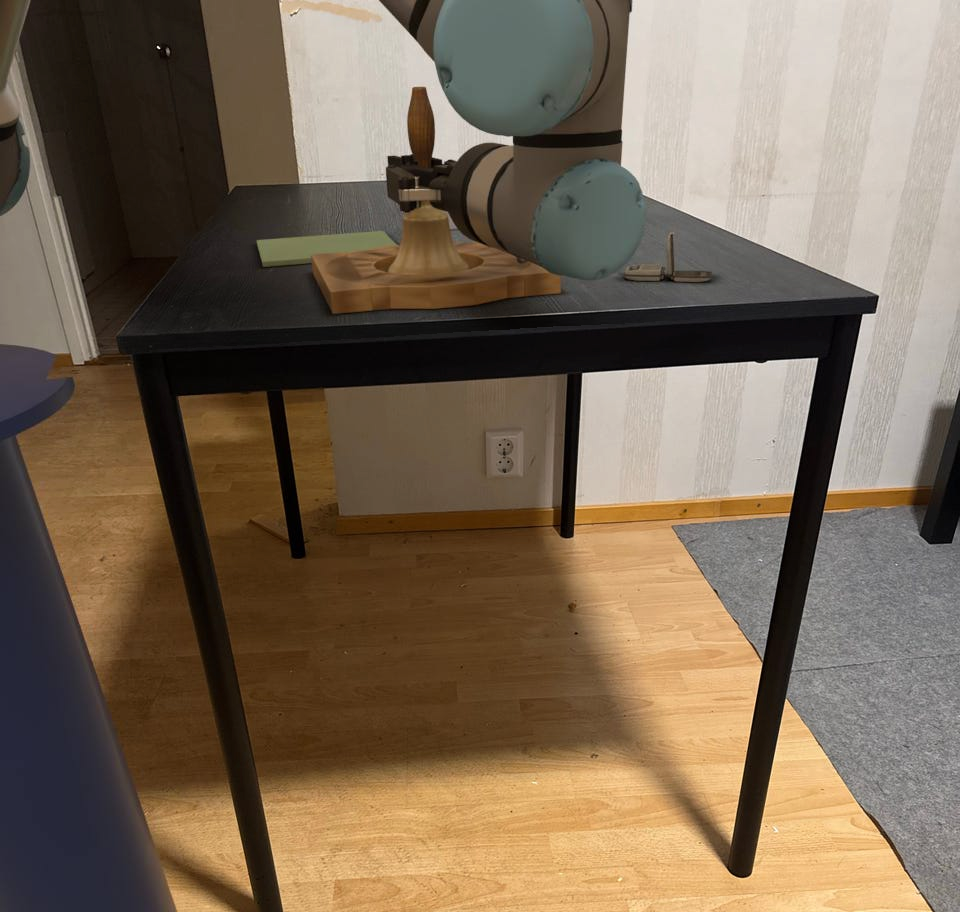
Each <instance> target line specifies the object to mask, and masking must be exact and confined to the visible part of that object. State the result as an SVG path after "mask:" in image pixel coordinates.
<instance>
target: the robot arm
mask: <svg viewBox="0 0 960 912" xmlns="http://www.w3.org/2000/svg"><path fill="white" fill-rule="evenodd" d="M31 1H32V0H0V217H2V216H4V215H6V214H8V213H9V212H10V211H11V210H12V209H13V208H14V207H15V206H16V205H17V204H18V203H19V201H20V200H21V198H22V197H23V195H24V193H25V191H26V189H27V185H28V182H29V178H30V171H31V155H30V154H31V153H30V148H29V147H28V146H26V145H25V143H24V139H23V136H25V135H26V132H25V129H24V127H23V124H22V122H21V119H20V117H21V109H22V108H21V103H20V100H19V98H18V95H17V94H16V93H15V90H14V89H13V88H12V86H11V84H10V83H9V81H8V77H9V75H10V71H11V68H12V64H13V62H14V57H15V54H16V51H17V47H18V44H19V41H20V38H21V34H22V31H23V27H24V24H25V21H26V17H27V14H28V10H29V8H30V4H31ZM378 1H379V2H380V3H381V4H382V5H383V7H384V8H385V9H386V10H387V11H388V12H389V13H390V14H391V16H393V18H394V19H395V20H396V21H397V22H398V23H399V24H400V25H401V26H402V28H404V30H406V32H407V33H408V34H409V35H410V36H411V37H412V38H413V39H414V40H415V41H416V43H417V44H418V45H419V46H420V47H421V49H422V50H423V51H424V53H425V54H426V55H427V56H428V57H429V58H430V59H431V60H432V62H434V65H435V70H436V74H437V75H436V76H437V79H438V82H439V84H440V87H441V89H442V92H443V93H444V95H445V98H446V99H447V101H448V104H450V106H451V107H452V108H453V110H454V111H455V112H456V113H457V115H458V116H459V117H460V118H461V119H462V120H464V121H465V122H466V123H468V125H470V126H471V127H474V128H476V129H477V130H479V131H482V132H484V133H486V134H490V135H494V136H502V137H507V138H509V137H510V138H511V137H512V145H510V144H504V143H499V142H483V143H478V144H476V145H474V146H472V147H470V148H469V149H467V150H466V151H465V152H464V153H462V155H461V156H460V157H459V158H458V159H457V160H455V159H447V160H445V161H443V159H441V158H437V157H433V156H432V160H431V168H429V167H424V166H419V165H418V161H414V158H413V155H412V153H411V154H404V155H400V156H398V155H395V154H393V155H387V156H386V157H387V166H386V167H385V179H386V192H387V193H386V194H387V198H389V199H390V200H392V201H393V202H395V203H396V204H397V205H399V211H400V212H403V213H405V214H406V213H409V212H411V211H413V210H414V209H420V208H421V201H430V204H431V206H432V207H434V208H436V209H439V210H442V211H446V212H448V214H449V215H450V217H451V219H452V221H453V223H454V224H455V226H456V227H457V228H458V229H457V230H458V231H459V232H460V233H461V234H462V236H464V237H465V238H467V239H468V240H471V241H472V242H478V243H481V244H483V245H486V246H488V247H492V248H495V249H498V250H501V251H503V252H506V253H508V254H511V255H513V256H516V259H517V262H518V263H520V264H521V263H526V262H527V261H529V262H531V263H534V264H536V265H538V266H540V267H542V268H543V269H545V270H547V271H548V272H550V273H552V274H555V275H559V276H561V277H568V278H571V279H578V280H583V281H594V282H596V281H599V280H602V279H605V278H608V277H610V276H612V275H614V274H615V273H617V272H618V271H620V270H621V269H622V268H624V267H625V266H626V264H628V263H629V261H630V260H631V259H632V258H633V256H634V255H635V253H637V250H638V249H639V246H640V244H641V242H642V239H643V236H644V233H645V229H646V225H647V218H648V217H647V204H646V201H645V197H644V193H643V191H642V188H641V185H640V182H639V180H638V179H637V178H636V177H635V176H634V174H633V173H632V172H631V171H630V170H628V169H627V168H626V167H623V166H622V157H623V129H622V127H623V114H624V113H623V112H624V111H623V110H624V100H625V99H624V98H625V87H626V85H625V84H626V72H627V71H626V70H627V58H628V57H627V55H628V41H629V28H630V14H631V13H632V12H633V2H634V1H633V0H378Z"/></svg>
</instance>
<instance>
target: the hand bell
mask: <svg viewBox="0 0 960 912" xmlns="http://www.w3.org/2000/svg"><path fill="white" fill-rule="evenodd" d="M406 117H407V118H406V124H407V125H406V126H407V127H406V129H407V139H408V143H409V148H410V152H411V154H412V155H413V158H414V161H418V165H419V166H424V167H429V168H431V160H432V157H433V154H434V149H435V143H436V123H435V122H436V121H435V115H434V111H433V107H432V105H431V101H430V99H429V95H428V90H427V86H413V87H412V88H411V96H410V101H409V105H408V110H407V116H406ZM401 231H402V232H401V242H400V244H399V245H400V249H399V253H398V255H397V257H396V259H395V261H394V262H393V264H392V265H391V266H390V267H389V270H388V273H397V274H406V275H430V274H442V273H453V272H458V271H463V270H469V266H468V265H467V263H466V262H465V261H464V260H463V259H462V258H461V257H460V255H459V254H458V252H457V250H456V248H455V246H454V243H455V242H454V240H453V237H452V233H451V229H450V227H449V220H448V215H447V214H446V213H445V212H443V211H441V210H439V209H436V208H434V207H432V206H431V204H430V201H421V208H420V209H414V210H413V211H411V212H409V213H405V214H404V215H403V217H402V230H401Z"/></svg>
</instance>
